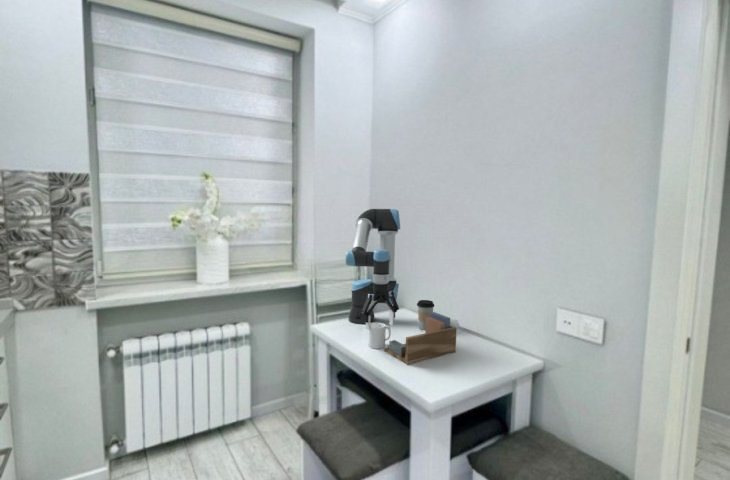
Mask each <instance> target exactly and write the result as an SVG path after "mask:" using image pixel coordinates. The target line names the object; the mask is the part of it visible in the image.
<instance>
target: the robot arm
mask: <svg viewBox="0 0 730 480" xmlns="http://www.w3.org/2000/svg"><path fill="white" fill-rule="evenodd" d="M400 220H401V219H400V212H399V210H398V209H395V208H370V209H367V210H365V211H364V212H362V213H361V214H360V215H359V216H358V218H357V219H356V222H355V228H356V229H355V233H354V238H353V244H352V248H351V250H347V251H346V252H345V265H347V266H349V267H368V268H369V267H370V268H373V273H372V279H369V278H367V279H366V278H365V279H359V280H355V281H353V282H352V284H351V308H350V311H349V314H348V319H347V320H348V321H349V322H350V323H353V324H359V325H365V329H367V331H368V330H370V323H375V318H376V317H375V313H374V309H375V307H376V306H377V305H378V304H386V306H388V308H389V309H390V311H389V325H391V326H392V327H393V326H395V318H396V313H397V312H398V311H399V310H400V307H399V305H398V302H397V298H398V292H399V287H400V286H399V285H400V284H399V283H397V279H396V277H395V258H396V257H395V255H396V254H395V253H396V251H395V250H396V249H395V248H396V235H397V234H398V233H399V230H401V222H400ZM373 229H374V230H377V233H378V234H379V249H375V250H374V251H368V250H367V249H368V243H369V239H370V232H371V231H372V230H373Z"/></svg>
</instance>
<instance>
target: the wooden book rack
mask: <svg viewBox="0 0 730 480" xmlns="http://www.w3.org/2000/svg"><path fill="white" fill-rule="evenodd" d="M402 344H403V345H405V346H406V354H405V356H402V357H401V356H399V355H398V354H396V353H394V352H392V351H390V350H389V346H388V347H384V348H383V350H384V353H386V354H388V355H390V356H392V357H393V358H395V359H396V360H398V361H400V362H402V363H403V364H405V365H407V366H408V365H411V364H415V363H416V364H417V363H420V362H424V361H427V360H431V359H436V358H439V357H443V356H447V355H450V354H454V353H456V352H457V351H456V349H457V327H455V326H453V325H451V324H450V328H447V329H442V330H438V331H433V332H428V333H425V332H424V333H420V334H415V335H409V336H406V337H405V343H402Z"/></svg>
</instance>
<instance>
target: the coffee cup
mask: <svg viewBox="0 0 730 480" xmlns="http://www.w3.org/2000/svg"><path fill="white" fill-rule="evenodd" d="M416 306H417V315H418V324H419V325H418V327H419V330H421V331H425V327H426V318H428V317H430V313H432V312H434V307H435V303H434V301H432V300H429V299H420V300H418V302H417V303H416Z"/></svg>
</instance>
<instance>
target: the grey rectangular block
mask: <svg viewBox="0 0 730 480" xmlns="http://www.w3.org/2000/svg"><path fill="white" fill-rule="evenodd" d="M403 344H404V343H401V342H399V341H397V340H395V339H394V340H389V342H388V347H389V350H390V351H392V352H394V353H396V354H398V355H399V356H401V357H402V356H405V354H406V346H405V345H403Z"/></svg>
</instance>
